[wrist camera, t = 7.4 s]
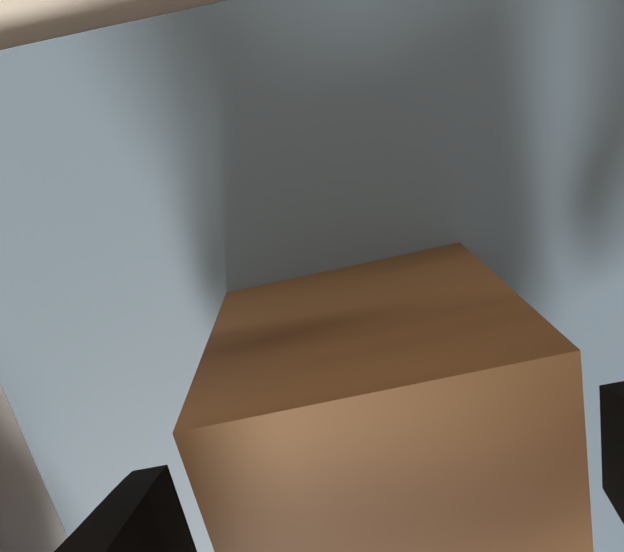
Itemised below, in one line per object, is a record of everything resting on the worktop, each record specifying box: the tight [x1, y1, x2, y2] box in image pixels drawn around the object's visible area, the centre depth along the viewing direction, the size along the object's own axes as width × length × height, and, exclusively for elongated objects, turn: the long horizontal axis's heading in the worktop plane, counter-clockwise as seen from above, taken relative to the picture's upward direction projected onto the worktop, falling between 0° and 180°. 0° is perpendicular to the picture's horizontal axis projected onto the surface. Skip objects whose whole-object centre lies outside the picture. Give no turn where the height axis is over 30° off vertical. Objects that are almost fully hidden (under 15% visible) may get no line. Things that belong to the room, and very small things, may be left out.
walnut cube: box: [172, 242, 594, 552], centre depth 10 cm, size 5×5×5 cm
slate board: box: [0, 0, 624, 552], centre depth 12 cm, size 16×16×1 cm
